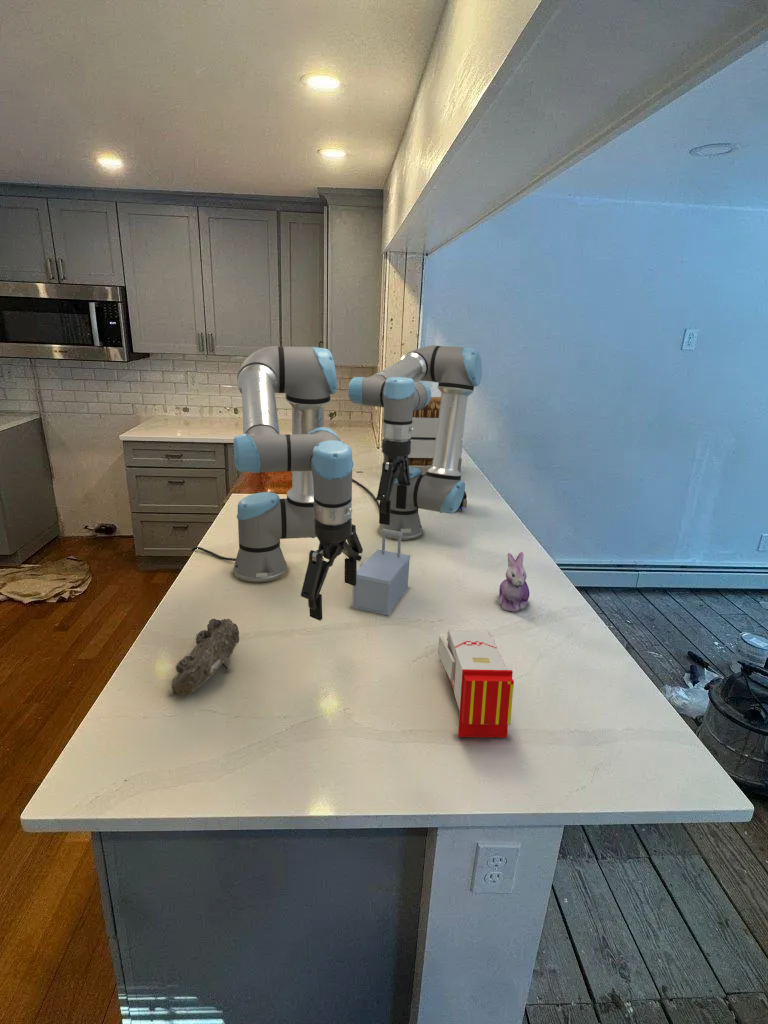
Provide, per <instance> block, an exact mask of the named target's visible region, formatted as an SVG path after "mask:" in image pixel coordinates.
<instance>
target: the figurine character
mask: <svg viewBox="0 0 768 1024" xmlns="http://www.w3.org/2000/svg"><path fill="white" fill-rule="evenodd" d="M467 495H468V494H467V493H466V491H465V492H464V496H463V499H462V502H461V504H460V506H459V508H458V509H459V510H460V512H463V509H464V508H465V509H466V508H467V506H468V499H467V497H468V496H467ZM458 509H457V510H458Z"/></svg>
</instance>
